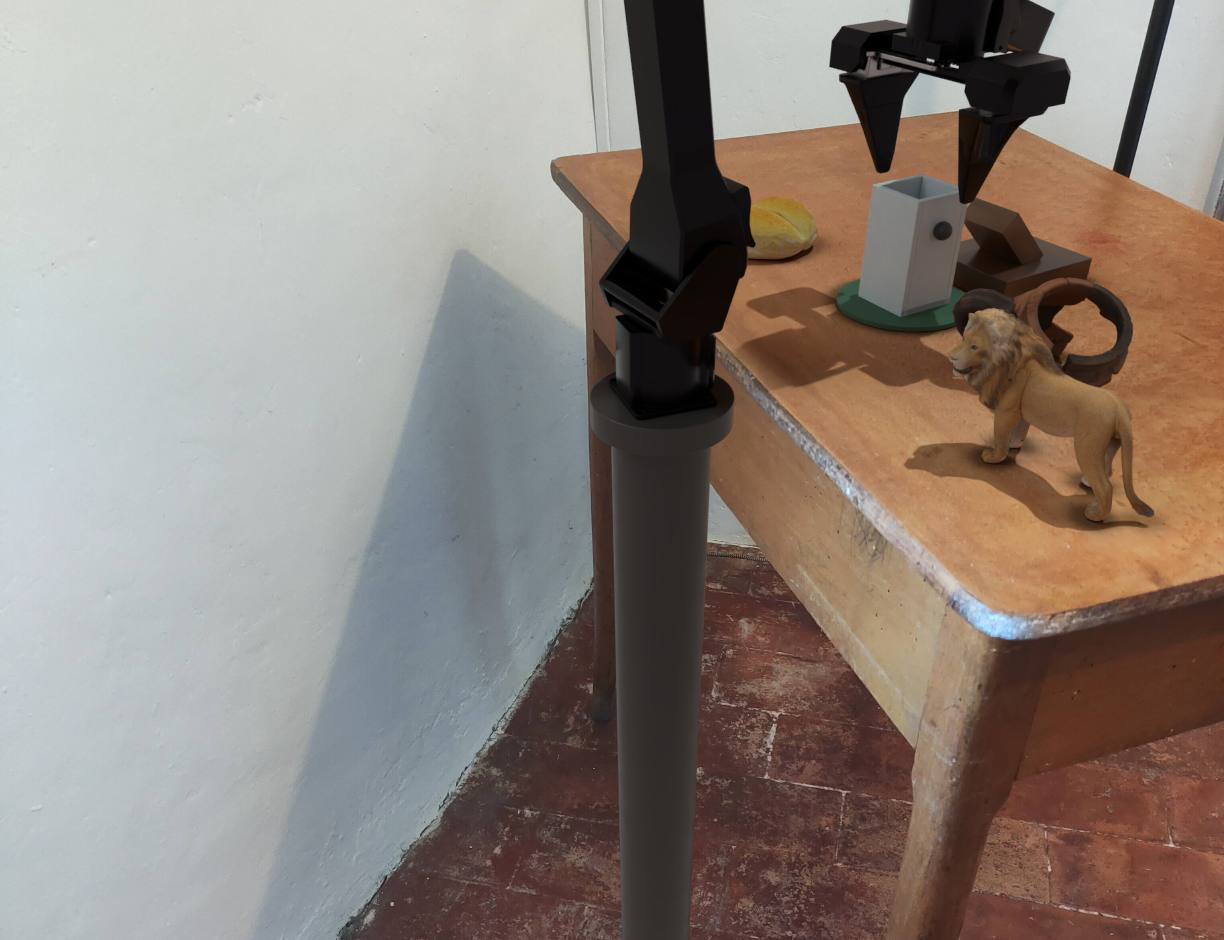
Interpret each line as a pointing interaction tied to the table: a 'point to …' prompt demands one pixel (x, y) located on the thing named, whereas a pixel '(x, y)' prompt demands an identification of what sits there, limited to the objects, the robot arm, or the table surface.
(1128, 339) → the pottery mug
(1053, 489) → the table surface
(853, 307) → the coaster
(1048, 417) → the lion figurine
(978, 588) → the table surface
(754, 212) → the bread roll
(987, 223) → the tilted cube pedestal
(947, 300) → the grey storage bin
